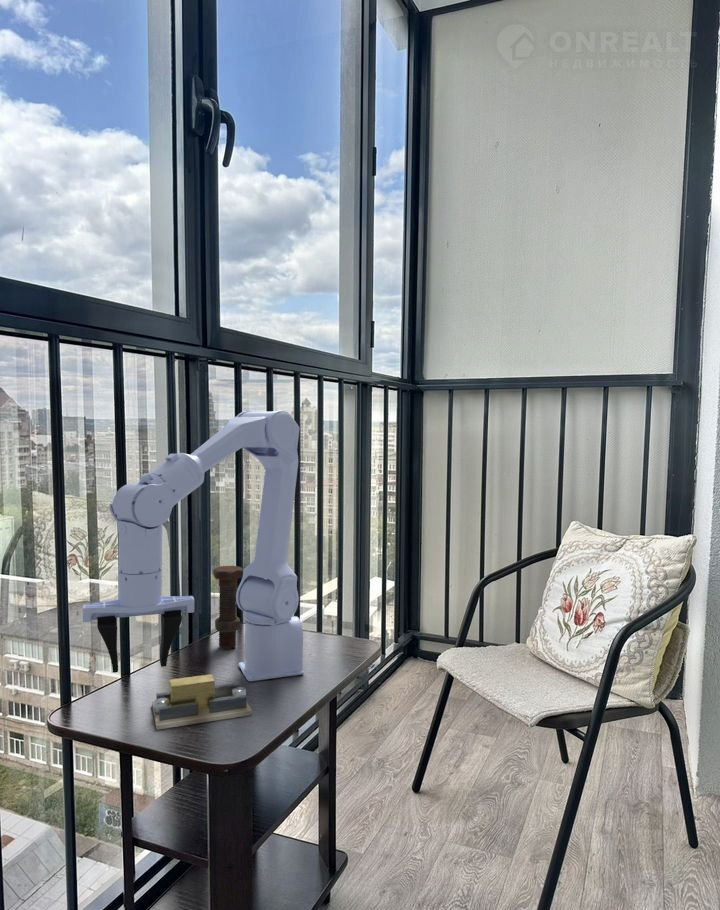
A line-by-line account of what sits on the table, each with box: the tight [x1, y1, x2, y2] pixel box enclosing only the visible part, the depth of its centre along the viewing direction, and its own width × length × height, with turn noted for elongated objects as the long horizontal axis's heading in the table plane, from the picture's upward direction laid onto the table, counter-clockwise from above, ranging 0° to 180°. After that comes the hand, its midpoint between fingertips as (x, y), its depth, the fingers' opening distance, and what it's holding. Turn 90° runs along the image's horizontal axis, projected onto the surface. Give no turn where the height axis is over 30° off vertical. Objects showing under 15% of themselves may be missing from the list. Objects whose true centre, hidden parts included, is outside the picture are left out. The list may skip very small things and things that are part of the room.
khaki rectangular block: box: [169, 673, 216, 711], centre depth 89 cm, size 6×3×4 cm, turn 113°
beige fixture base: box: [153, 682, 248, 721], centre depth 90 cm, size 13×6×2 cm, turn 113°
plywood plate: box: [151, 696, 253, 730], centre depth 90 cm, size 13×8×1 cm, turn 112°
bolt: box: [213, 565, 244, 651], centre depth 117 cm, size 6×5×15 cm
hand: (139, 667), depth 86 cm, fingers open, 6 cm apart
